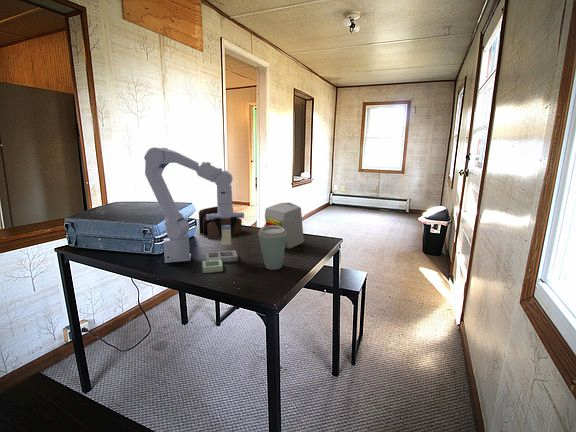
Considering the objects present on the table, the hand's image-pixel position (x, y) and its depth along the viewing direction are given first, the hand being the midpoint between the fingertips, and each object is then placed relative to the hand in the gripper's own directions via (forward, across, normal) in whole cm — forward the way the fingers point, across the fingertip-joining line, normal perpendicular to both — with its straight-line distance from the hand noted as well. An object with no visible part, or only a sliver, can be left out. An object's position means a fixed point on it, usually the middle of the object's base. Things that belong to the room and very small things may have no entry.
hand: (226, 236), depth 118 cm
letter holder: (+10, 0, +39) cm, 40 cm away
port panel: (+9, -2, 0) cm, 10 cm away
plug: (+3, 0, 0) cm, 3 cm away
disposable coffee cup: (+10, +16, -13) cm, 23 cm away
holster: (+9, -6, -9) cm, 14 cm away
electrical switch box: (+10, +26, +12) cm, 30 cm away
